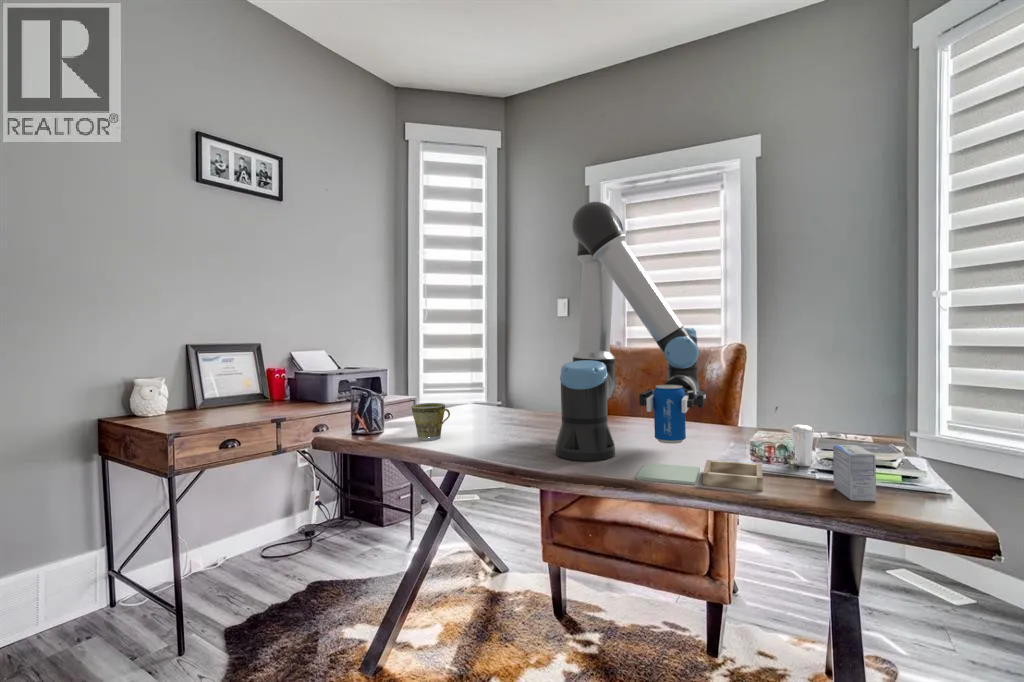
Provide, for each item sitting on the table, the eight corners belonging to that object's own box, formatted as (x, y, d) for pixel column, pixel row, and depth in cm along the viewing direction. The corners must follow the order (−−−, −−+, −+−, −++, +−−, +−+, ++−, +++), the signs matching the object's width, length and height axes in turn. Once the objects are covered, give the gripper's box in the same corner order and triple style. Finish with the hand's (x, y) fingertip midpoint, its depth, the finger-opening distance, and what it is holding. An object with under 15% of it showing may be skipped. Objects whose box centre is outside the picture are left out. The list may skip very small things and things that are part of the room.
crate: (703, 485, 109) (702, 472, 109) (706, 471, 119) (706, 459, 119) (762, 490, 104) (762, 478, 104) (761, 475, 114) (761, 464, 114)
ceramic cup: (405, 440, 158) (404, 406, 158) (427, 434, 167) (426, 402, 166) (439, 444, 151) (438, 409, 151) (460, 437, 160) (459, 404, 159)
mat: (635, 479, 114) (635, 476, 114) (645, 465, 125) (645, 462, 125) (695, 485, 109) (695, 482, 109) (700, 469, 120) (699, 467, 120)
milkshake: (809, 469, 118) (808, 424, 118) (786, 463, 123) (786, 420, 123) (821, 466, 120) (821, 422, 120) (799, 461, 125) (799, 418, 125)
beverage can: (653, 443, 115) (651, 387, 114) (656, 437, 121) (655, 384, 120) (684, 445, 112) (683, 388, 112) (686, 438, 118) (685, 384, 118)
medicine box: (877, 502, 97) (876, 454, 96) (849, 501, 97) (849, 454, 97) (858, 488, 104) (857, 444, 104) (832, 488, 105) (832, 444, 105)
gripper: (721, 408, 129) (715, 425, 108) (639, 405, 137) (620, 421, 116) (720, 377, 129) (715, 388, 108) (639, 376, 136) (619, 387, 115)
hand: (665, 405), depth 112 cm, fingers closed on beverage can, 6 cm apart
